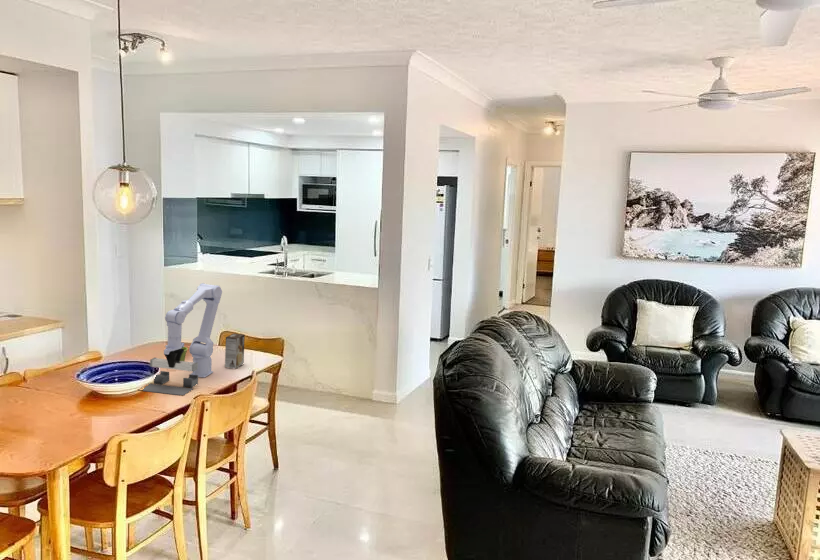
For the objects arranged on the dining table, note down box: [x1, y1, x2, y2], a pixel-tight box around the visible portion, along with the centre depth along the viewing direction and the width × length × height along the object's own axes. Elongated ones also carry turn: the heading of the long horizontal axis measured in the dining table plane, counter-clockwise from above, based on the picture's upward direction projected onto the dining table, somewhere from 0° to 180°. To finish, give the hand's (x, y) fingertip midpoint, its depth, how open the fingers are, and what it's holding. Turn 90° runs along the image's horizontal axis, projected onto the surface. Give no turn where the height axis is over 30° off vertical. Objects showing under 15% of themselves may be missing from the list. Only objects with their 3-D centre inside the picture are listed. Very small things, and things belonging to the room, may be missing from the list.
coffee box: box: [224, 333, 246, 369], centre depth 308 cm, size 9×6×16 cm
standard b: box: [153, 370, 170, 385], centre depth 276 cm, size 6×4×4 cm, turn 173°
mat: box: [142, 383, 194, 396], centre depth 267 cm, size 9×21×1 cm, turn 83°
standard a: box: [182, 373, 199, 389], centre depth 275 cm, size 6×4×4 cm, turn 173°
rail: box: [149, 357, 198, 373], centre depth 272 cm, size 4×21×3 cm, turn 83°
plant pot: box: [180, 346, 189, 362], centre depth 302 cm, size 9×9×9 cm
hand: (173, 366), depth 272 cm, fingers closed on rail, 4 cm apart
